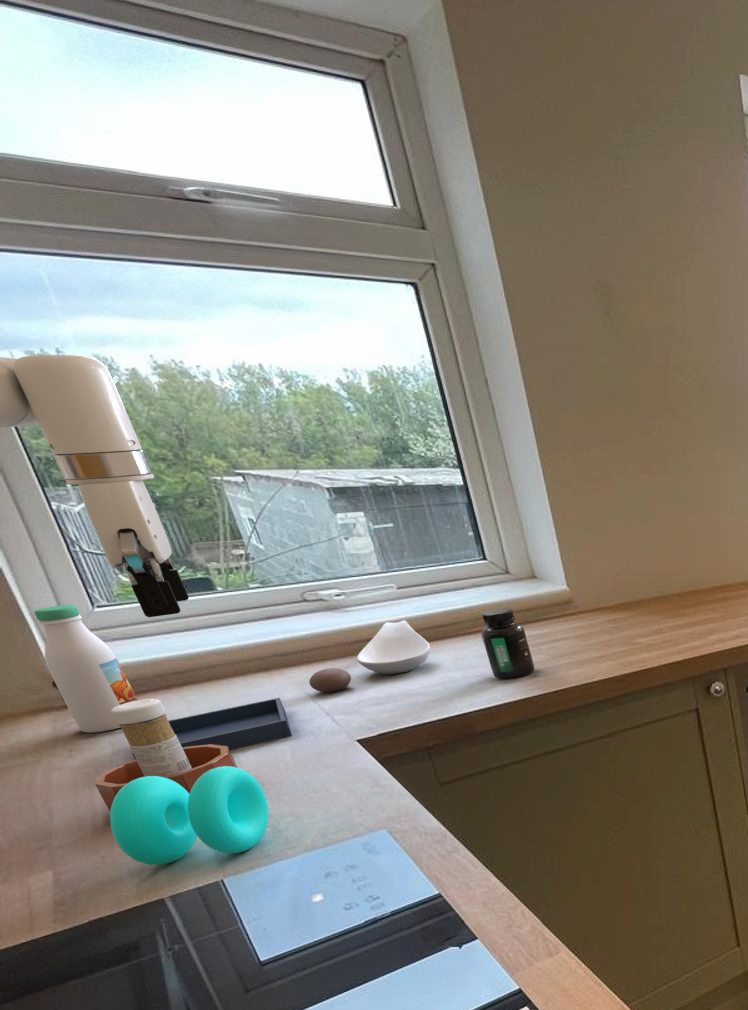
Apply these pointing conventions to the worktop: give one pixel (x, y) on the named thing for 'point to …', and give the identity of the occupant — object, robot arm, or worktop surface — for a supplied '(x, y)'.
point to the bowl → (199, 760)
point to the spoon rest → (394, 649)
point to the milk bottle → (83, 669)
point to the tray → (234, 725)
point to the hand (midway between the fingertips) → (168, 608)
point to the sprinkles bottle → (151, 737)
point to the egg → (330, 680)
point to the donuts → (188, 815)
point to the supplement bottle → (506, 645)
